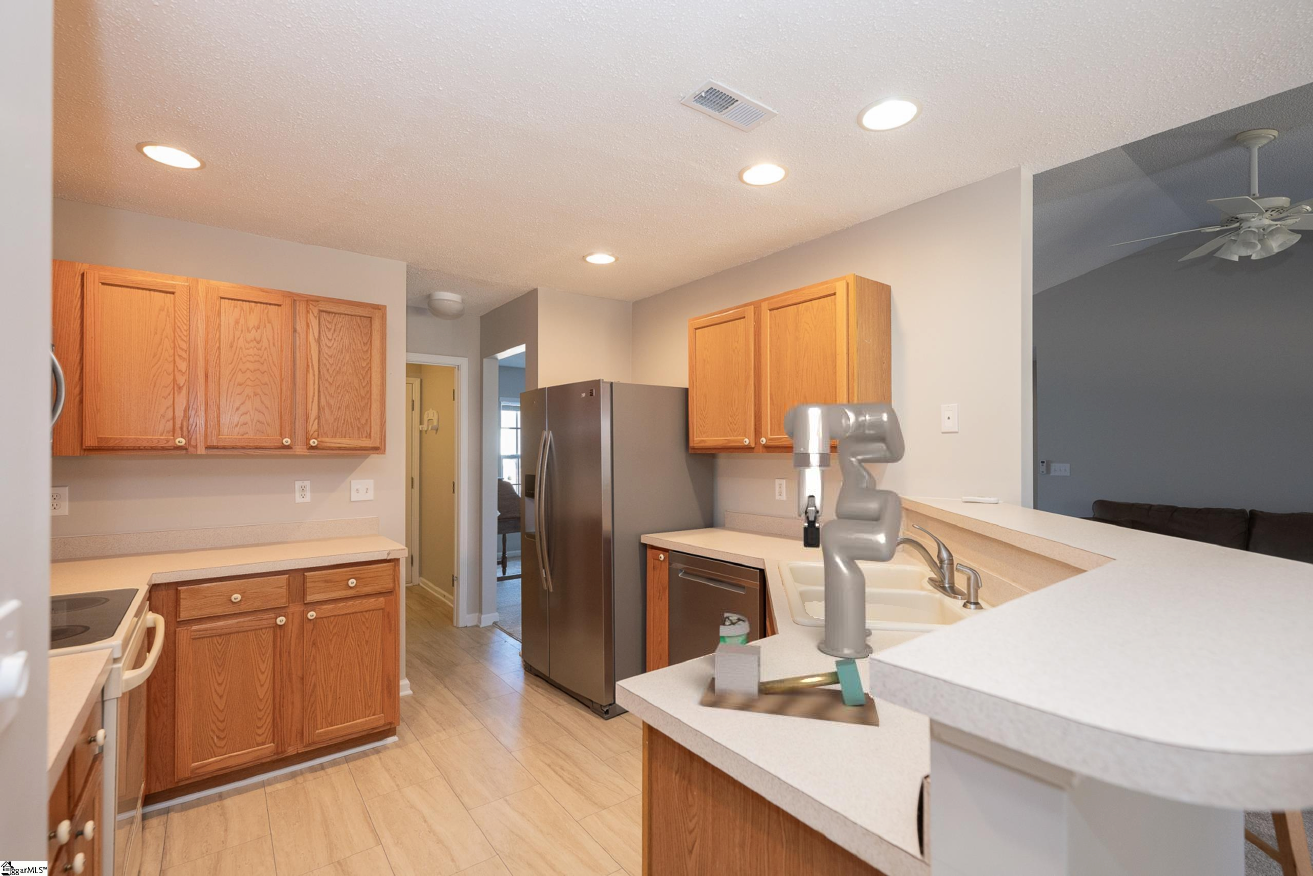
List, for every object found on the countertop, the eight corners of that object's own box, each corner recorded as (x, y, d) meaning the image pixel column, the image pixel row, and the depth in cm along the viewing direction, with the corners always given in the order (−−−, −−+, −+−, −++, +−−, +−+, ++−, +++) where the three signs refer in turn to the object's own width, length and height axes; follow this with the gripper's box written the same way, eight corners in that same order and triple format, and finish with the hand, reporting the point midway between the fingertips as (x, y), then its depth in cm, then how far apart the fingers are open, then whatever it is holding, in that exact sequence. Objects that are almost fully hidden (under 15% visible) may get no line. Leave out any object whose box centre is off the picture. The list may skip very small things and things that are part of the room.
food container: (748, 675, 126) (748, 628, 126) (719, 673, 127) (719, 626, 127) (750, 657, 138) (751, 614, 138) (724, 655, 139) (724, 612, 140)
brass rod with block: (768, 716, 111) (759, 678, 111) (770, 708, 114) (761, 671, 115) (866, 703, 106) (856, 663, 107) (864, 696, 110) (854, 657, 111)
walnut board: (701, 705, 110) (701, 699, 110) (712, 682, 121) (712, 677, 122) (879, 726, 102) (878, 719, 102) (872, 699, 113) (872, 693, 114)
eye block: (714, 694, 112) (715, 651, 113) (719, 683, 118) (720, 642, 118) (757, 699, 110) (757, 655, 111) (760, 687, 116) (760, 646, 116)
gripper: (794, 462, 134) (794, 538, 133) (791, 462, 117) (791, 549, 117) (829, 462, 132) (829, 540, 131) (831, 462, 115) (831, 551, 115)
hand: (811, 544), depth 124 cm, fingers open, 9 cm apart
